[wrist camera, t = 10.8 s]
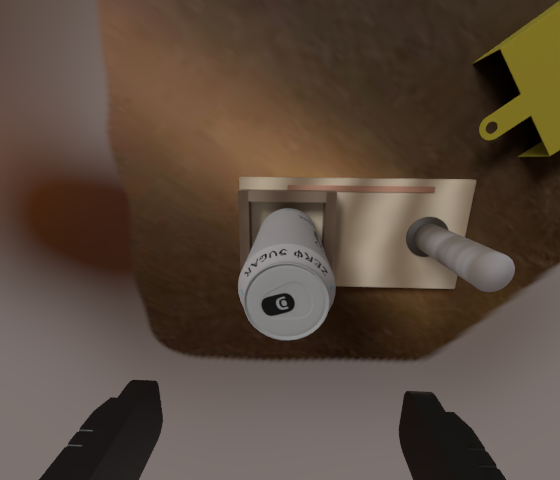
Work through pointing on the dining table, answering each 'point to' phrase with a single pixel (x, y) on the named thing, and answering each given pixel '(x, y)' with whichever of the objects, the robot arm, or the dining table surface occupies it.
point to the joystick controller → (381, 229)
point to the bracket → (532, 82)
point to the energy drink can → (287, 277)
